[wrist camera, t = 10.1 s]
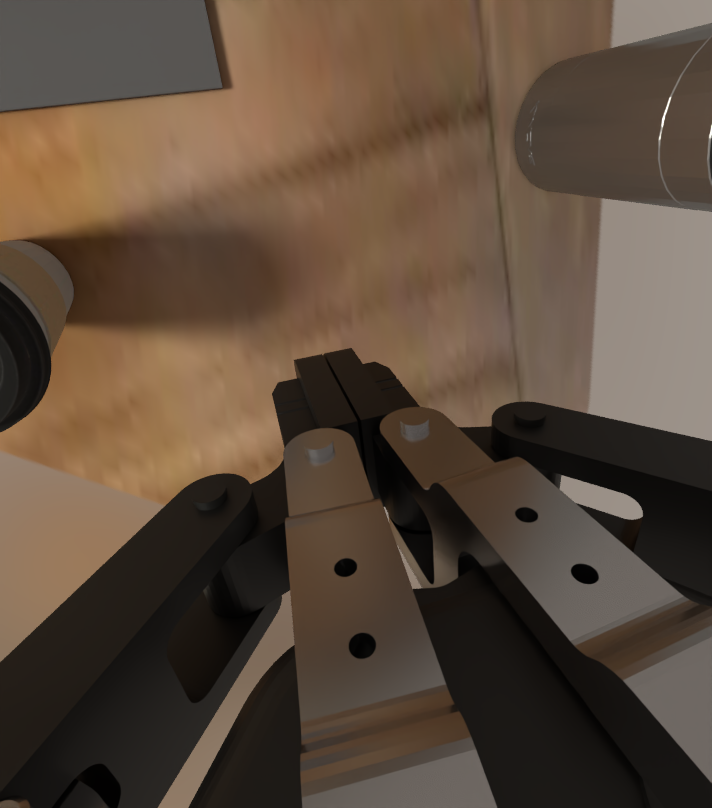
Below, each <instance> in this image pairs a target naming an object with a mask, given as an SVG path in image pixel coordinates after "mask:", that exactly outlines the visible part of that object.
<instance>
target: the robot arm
mask: <svg viewBox="0 0 712 808" xmlns="http://www.w3.org/2000/svg"><path fill="white" fill-rule="evenodd" d="M515 150H516V154H517V159H518V163H519V165H520V167H521V170H522V172H523V173H524V175H525V176H526V177H527V179H528V180H529V181H530V182H531V183H532V184H534V185H535V186H536V187H538V188H541V189H543V190H546V191H552V192H560V193H568V194H575V195H581V196H589V197H597V198H605V199H613V200H621V201H629V202H636V203H644V204H652V205H660V206H668V207H677V208H684V209H692V210H702V211H710V212H712V23H710V24H706V25H702V26H698V27H694V28H690V29H686V30H682V31H678V32H674V33H670V34H666V35H662V36H658V37H654V38H650V39H646V40H642V41H638V42H634V43H630V44H626V45H622V46H618V47H614V48H610V49H605V50H601V51H597V52H593V53H589V54H585V55H581V56H577V57H573V58H569V59H567V60H564V61H561V62H559V63H557V64H555V65H554V66H552V67H551V68H549V69H548V70H546V71H545V72H544V73H543V74H542V75H541V76H540V77H539V78H538V79H537V80H536V82H535V83H534V85H533V86H532V88H531V89H530V90H529V92H528V94H527V96H526V98H525V100H524V102H523V104H522V106H521V109H520V113H519V116H518V119H517V124H516V132H515ZM294 365H295V371H296V376H297V379H293V380H288V381H283V382H279V383H278V384H277V386H276V387H275V389H274V391H273V393H272V396H273V400H274V404H275V409H276V413H277V418H278V422H279V426H280V431H281V435H282V440H283V444H284V448H285V449H284V454H283V456H284V459H283V461H282V463H281V464H280V465H279V467H278V468H277V469H276V470H274V471H273V472H272V473H271V474H269V475H268V476H266V477H264V478H262V479H261V480H259V481H256V482H254V483H252V484H250V483H249V482H248V481H247V480H246V479H245V478H244V477H242V476H239V475H236V474H216V475H211V476H207V477H204V478H202V479H199V480H197V481H195V482H193V483H191V484H190V485H188V486H187V487H185V488H184V489H183V490H182V491H180V492H179V493H178V494H177V495H176V496H175V497H174V498H173V499H172V500H171V501H170V502H169V503H168V504H167V505H166V506H165V507H164V508H163V509H161V510H160V511H159V512H158V513H157V514H156V515H155V516H154V517H153V518H152V519H151V520H150V521H149V522H148V523H147V524H146V525H145V526H144V527H142V529H140V530H139V531H138V532H137V533H136V534H135V535H134V536H133V537H132V538H131V539H130V540H129V541H128V542H127V543H126V544H125V545H124V546H122V547H121V548H120V549H119V550H118V551H117V552H116V553H115V554H114V555H113V556H112V557H111V558H110V559H109V560H108V561H107V562H106V563H105V564H103V565H102V566H101V567H100V568H99V569H98V570H97V571H96V572H95V573H94V574H93V575H92V576H91V577H90V578H89V579H88V580H87V581H86V582H85V583H84V584H82V585H81V586H80V587H79V588H78V589H77V590H76V591H75V592H74V593H73V594H72V595H71V596H70V597H69V598H68V599H67V600H66V601H65V602H64V603H62V604H61V605H60V606H59V607H58V608H57V609H56V610H55V611H54V612H53V613H52V614H51V615H50V616H49V617H48V618H47V619H46V620H44V621H43V623H41V624H40V625H39V626H38V627H37V628H36V629H35V630H34V631H33V632H32V633H31V634H30V635H29V636H28V637H27V638H25V640H23V641H22V642H21V643H20V644H19V645H18V646H17V647H16V648H15V649H14V650H13V651H12V652H11V653H10V654H9V655H8V656H6V657H5V658H4V659H3V660H2V661H1V662H0V808H158V806H159V804H160V803H161V801H162V799H163V798H164V796H165V795H166V793H167V791H168V790H169V788H170V786H171V785H172V783H173V782H174V780H175V778H176V777H177V775H178V774H179V772H180V770H181V769H182V767H183V765H184V763H185V762H186V761H187V759H188V757H189V756H190V754H191V752H192V751H193V749H194V748H195V746H196V744H197V743H198V741H199V739H200V738H201V736H202V735H203V733H204V731H205V730H206V728H207V726H208V725H209V723H210V721H211V720H212V718H213V717H214V715H215V713H216V712H217V710H218V709H219V707H220V705H221V704H222V702H223V700H224V699H225V697H226V696H227V694H228V692H229V691H230V689H231V687H232V686H233V684H234V682H235V681H236V679H237V678H238V676H239V674H240V673H241V671H242V670H243V668H244V666H245V665H246V663H247V661H248V660H249V658H250V656H251V655H252V653H253V651H254V650H255V648H256V647H257V645H258V643H259V641H260V640H261V639H262V637H263V635H264V633H265V632H266V630H267V629H268V627H269V626H270V624H271V622H272V621H273V619H274V617H275V616H276V614H277V612H278V610H279V608H280V605H281V601H282V595H283V594H284V593H286V592H288V591H289V590H290V594H291V606H292V618H293V632H294V644H295V645H294V646H292V647H291V648H290V649H288V650H287V651H286V652H285V653H284V654H283V655H282V656H281V657H280V658H279V659H278V660H277V661H276V662H275V663H274V664H273V665H272V666H271V667H270V668H269V670H268V671H267V672H266V673H265V674H264V675H263V676H262V678H261V679H260V681H259V682H258V684H257V685H256V686H255V688H254V689H253V691H252V692H251V694H250V695H249V697H248V698H247V700H246V702H245V704H244V705H243V707H242V709H241V711H240V713H239V714H238V716H237V718H236V720H235V722H234V724H233V726H232V728H231V729H230V731H229V733H228V735H227V737H226V739H225V741H224V742H223V744H222V746H221V748H220V750H219V752H218V754H217V755H216V757H215V759H214V761H213V763H212V765H211V767H210V768H209V770H208V772H207V774H206V776H205V778H204V780H203V781H202V783H201V785H200V787H199V789H198V791H197V793H196V795H195V797H194V798H193V800H192V802H191V804H190V806H189V808H712V441H708V440H704V439H699V438H695V437H690V436H686V435H681V434H677V433H672V432H668V431H663V430H659V429H654V428H650V427H645V426H640V425H636V424H632V423H627V422H623V421H618V420H614V419H609V418H605V417H600V416H596V415H591V414H587V413H582V412H578V411H573V410H569V409H564V408H560V407H555V406H551V405H546V404H542V403H536V402H514V403H510V404H506V405H504V406H501V407H500V408H498V409H497V410H496V411H495V412H494V413H493V415H492V426H490V427H457V426H456V425H455V424H454V423H453V422H452V421H450V420H449V419H448V418H447V417H446V416H445V415H444V414H443V413H441V412H439V411H437V410H434V409H430V408H425V407H420V406H419V405H418V404H417V402H416V401H415V400H414V399H413V397H412V396H411V395H410V394H409V392H408V391H407V390H406V389H405V387H403V386H402V384H401V382H400V381H399V380H398V379H396V376H395V375H394V374H393V372H392V371H391V370H390V369H389V368H388V367H386V366H383V365H381V364H379V363H377V362H371V363H366V364H362V362H361V361H360V359H359V358H358V357H357V355H356V354H355V352H354V351H353V349H352V348H349V349H344V350H339V351H334V352H330V353H325V354H324V355H322V354H320V355H316V356H311V357H306V358H301V359H297V360H294ZM561 475H564V476H567V477H570V478H574V479H578V480H581V481H584V482H587V483H590V484H594V485H598V486H600V487H604V488H607V489H611V490H614V491H617V492H621V493H624V494H626V495H628V496H630V497H632V498H633V499H635V500H636V501H637V502H638V503H639V505H640V506H641V508H642V510H643V517H642V518H640V519H636V520H628V519H623V518H620V517H617V516H614V515H611V514H608V513H605V512H602V511H599V510H596V509H593V508H590V507H586V506H583V505H580V504H577V503H575V502H574V501H572V500H571V499H570V498H569V497H568V496H566V495H565V494H564V493H563V492H562V491H561V490H560V489H559V488H560V482H561ZM384 507H386V509H387V512H388V515H389V521H388V518H387V516H386V513H385V510H384ZM397 545H398V547H399V549H400V550H401V552H402V554H403V555H404V557H405V559H406V561H407V563H408V564H409V566H410V568H411V570H412V571H413V573H414V575H415V576H416V578H417V580H418V582H419V583H420V585H421V587H422V588H421V589H412V586H411V584H410V581H409V578H408V575H407V572H406V569H405V567H404V564H403V561H402V558H401V555H400V552H399V550H398V547H397Z"/></svg>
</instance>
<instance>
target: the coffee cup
mask: <svg viewBox="0 0 712 808" xmlns="http://www.w3.org/2000/svg"><path fill="white" fill-rule="evenodd" d="M73 298H74V288H73V284H72V280H71V278H70V276H69V274H68V272H67V271H66V269H65V268H64V266H63V265H62V264H61V262H60V261H59V260H58V259H57V258H56V257H55V256H54V255H52V254H51V253H50V252H49V251H47V250H46V249H44V248H42V247H41V246H39V245H36V244H34V243H31V242H27V241H21V240H10V241H3V242H0V432H2V431H4V430H6V429H8V428H10V427H12V426H13V425H14V424H16V423H17V422H19V421H20V420H22V419H23V418H24V417H26V416H27V415H28V414H29V413H30V412H32V410H33V409H34V408H35V407H36V406H37V405H38V404H39V402H40V401H41V399H42V398H43V396H44V394H45V392H46V390H47V387H48V384H49V381H50V375H51V356H52V354H53V352H54V349H55V347H56V345H57V343H58V340H59V338H60V336H61V334H62V331H63V329H64V326H65V322H66V316H67V313H68V311H69V309H70V307H71V304H72V301H73Z"/></svg>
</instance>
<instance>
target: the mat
mask: <svg viewBox="0 0 712 808" xmlns="http://www.w3.org/2000/svg"><path fill="white" fill-rule="evenodd" d="M222 88H223V87H222V83H221V78H220V73H219V68H218V64H217V59H216V54H215V49H214V45H213V40H212V35H211V30H210V25H209V21H208V16H207V11H206V6H205V2H204V0H0V112H5V111H14V110H24V109H33V108H43V107H52V106H62V105H71V104H81V103H90V102H100V101H109V100H119V99H128V98H138V97H147V96H157V95H166V94H175V93H185V92H194V91H204V90H213V89H222Z"/></svg>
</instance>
